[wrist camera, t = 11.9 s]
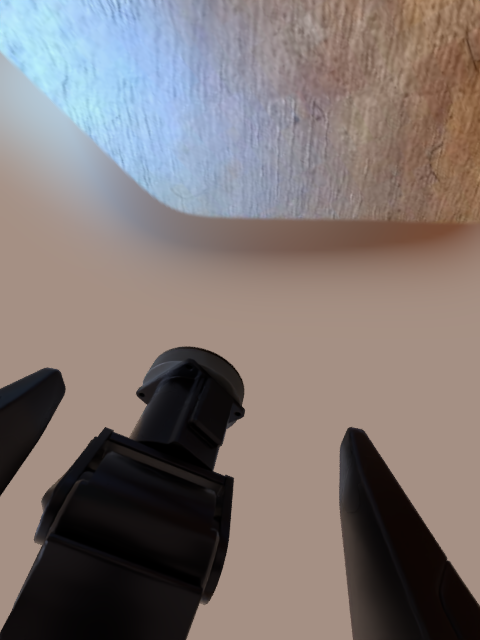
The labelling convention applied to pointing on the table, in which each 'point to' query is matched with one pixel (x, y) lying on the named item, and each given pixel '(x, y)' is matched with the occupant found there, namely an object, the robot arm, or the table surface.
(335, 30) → the table surface
